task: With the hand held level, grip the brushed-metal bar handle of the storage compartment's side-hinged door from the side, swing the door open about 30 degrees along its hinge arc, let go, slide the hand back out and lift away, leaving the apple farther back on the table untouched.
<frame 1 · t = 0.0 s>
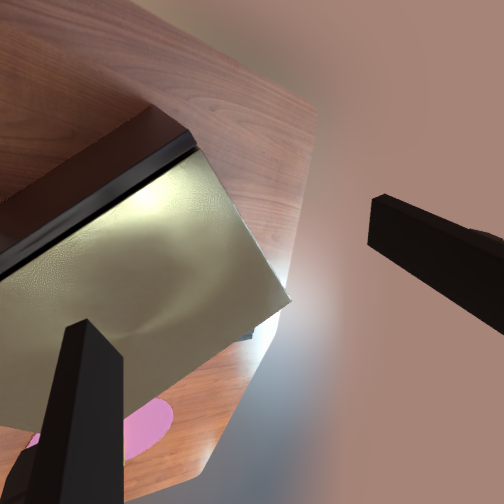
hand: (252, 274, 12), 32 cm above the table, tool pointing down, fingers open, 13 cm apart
platter: (108, 435, 65), on the table
compartment door: (16, 159, 22), point 12 cm above the table, hinge at 0.0°
storage compartment: (127, 217, 39), on the table
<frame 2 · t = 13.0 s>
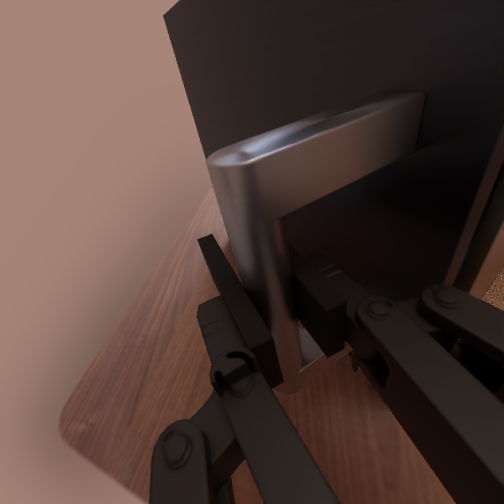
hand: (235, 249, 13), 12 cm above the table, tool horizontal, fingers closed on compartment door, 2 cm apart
compartment door: (231, 199, 18), point 12 cm above the table, hinge at 8.1°, touching gripper
storage compartment: (356, 236, 31), on the table
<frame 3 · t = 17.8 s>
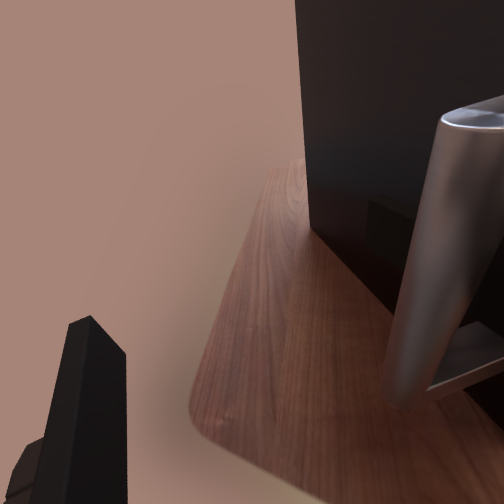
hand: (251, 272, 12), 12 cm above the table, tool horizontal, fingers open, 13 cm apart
compartment door: (346, 184, 17), point 12 cm above the table, hinge at 22.0°, touching gripper, hand
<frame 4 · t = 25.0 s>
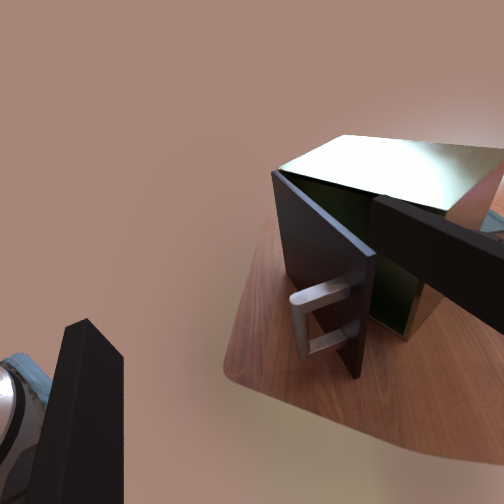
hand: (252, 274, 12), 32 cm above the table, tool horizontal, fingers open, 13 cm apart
compartment door: (292, 274, 40), point 12 cm above the table, hinge at 21.4°
book: (436, 224, 61), on the table
storage compartment: (366, 274, 52), on the table
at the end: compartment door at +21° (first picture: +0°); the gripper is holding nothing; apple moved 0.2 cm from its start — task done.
